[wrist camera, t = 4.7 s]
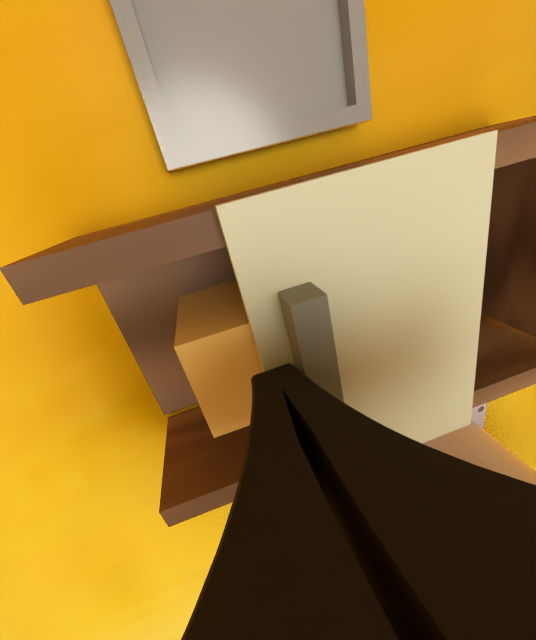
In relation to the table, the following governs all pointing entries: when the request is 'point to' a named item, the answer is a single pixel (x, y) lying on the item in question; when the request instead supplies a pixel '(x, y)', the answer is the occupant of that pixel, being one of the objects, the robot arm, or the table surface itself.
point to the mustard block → (218, 354)
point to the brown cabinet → (215, 268)
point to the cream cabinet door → (374, 281)
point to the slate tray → (245, 72)
